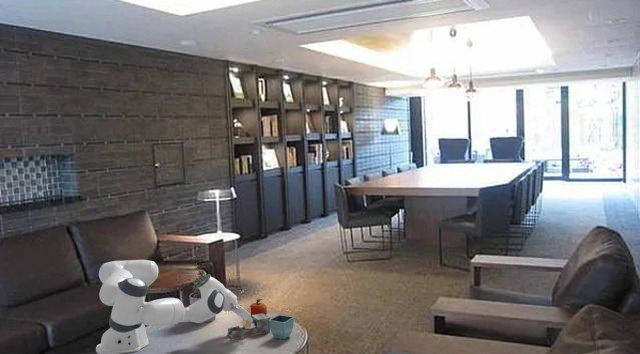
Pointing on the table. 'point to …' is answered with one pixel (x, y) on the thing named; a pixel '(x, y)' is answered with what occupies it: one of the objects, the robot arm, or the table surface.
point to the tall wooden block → (247, 324)
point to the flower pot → (281, 326)
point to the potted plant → (197, 294)
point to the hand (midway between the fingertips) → (248, 318)
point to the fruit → (258, 308)
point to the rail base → (261, 328)
